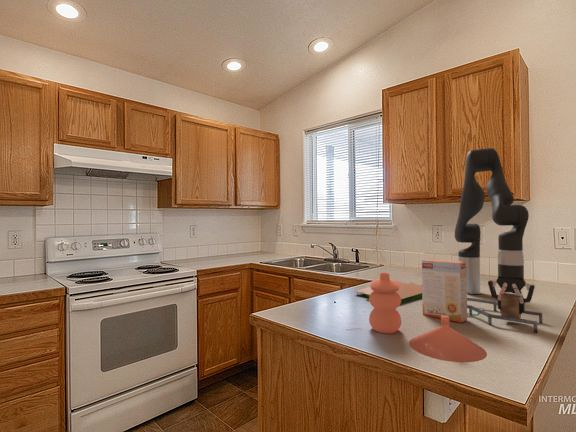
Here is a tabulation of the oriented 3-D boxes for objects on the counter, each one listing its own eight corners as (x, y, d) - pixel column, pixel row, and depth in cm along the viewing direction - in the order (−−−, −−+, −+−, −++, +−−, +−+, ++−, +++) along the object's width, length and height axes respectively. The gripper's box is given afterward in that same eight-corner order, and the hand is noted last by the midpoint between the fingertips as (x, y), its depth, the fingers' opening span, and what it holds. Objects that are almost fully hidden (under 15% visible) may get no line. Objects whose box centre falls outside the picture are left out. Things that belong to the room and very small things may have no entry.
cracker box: (468, 320, 123) (467, 261, 123) (460, 323, 119) (460, 262, 119) (429, 312, 134) (429, 258, 134) (422, 315, 130) (421, 259, 130)
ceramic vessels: (501, 350, 96) (500, 281, 96) (469, 372, 82) (468, 293, 82) (390, 322, 122) (389, 268, 122) (352, 335, 109) (351, 275, 109)
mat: (448, 310, 135) (448, 310, 135) (456, 305, 144) (456, 304, 144) (476, 315, 129) (476, 314, 129) (483, 309, 137) (483, 308, 137)
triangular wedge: (350, 299, 158) (350, 281, 158) (391, 289, 180) (390, 273, 180) (395, 308, 141) (395, 288, 141) (434, 296, 163) (434, 278, 163)
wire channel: (432, 314, 130) (432, 305, 130) (451, 303, 146) (451, 295, 147) (537, 333, 109) (537, 322, 109) (545, 317, 125) (545, 307, 125)
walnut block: (501, 318, 119) (501, 294, 119) (504, 314, 123) (503, 292, 123) (518, 321, 116) (518, 297, 116) (520, 317, 120) (520, 294, 120)
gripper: (484, 262, 121) (485, 311, 121) (534, 266, 112) (535, 318, 112) (489, 260, 127) (490, 306, 127) (537, 263, 118) (538, 313, 118)
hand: (511, 312), depth 120 cm, fingers closed on walnut block, 5 cm apart
